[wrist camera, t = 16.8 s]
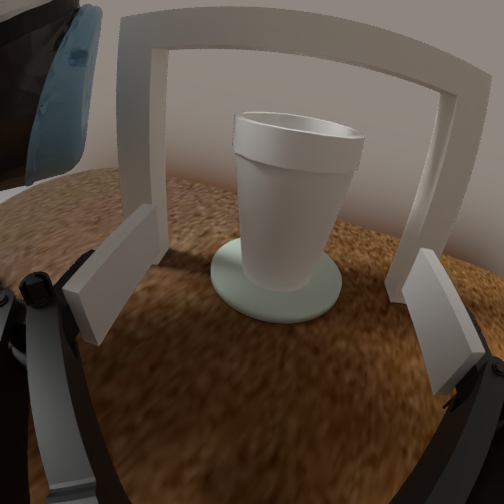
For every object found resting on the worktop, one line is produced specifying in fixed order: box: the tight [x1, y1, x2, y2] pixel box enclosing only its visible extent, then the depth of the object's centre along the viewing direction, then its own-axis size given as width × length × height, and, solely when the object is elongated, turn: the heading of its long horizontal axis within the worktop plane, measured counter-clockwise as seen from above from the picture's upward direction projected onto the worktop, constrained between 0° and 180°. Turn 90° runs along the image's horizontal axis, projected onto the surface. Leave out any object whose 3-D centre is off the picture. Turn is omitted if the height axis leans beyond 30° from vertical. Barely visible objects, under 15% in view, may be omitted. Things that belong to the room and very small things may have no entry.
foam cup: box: [232, 112, 365, 292], centre depth 23 cm, size 10×9×13 cm
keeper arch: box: [116, 6, 492, 324], centre depth 21 cm, size 28×12×22 cm, turn 82°
